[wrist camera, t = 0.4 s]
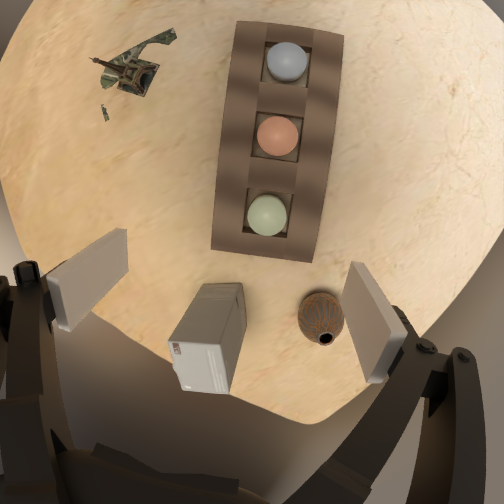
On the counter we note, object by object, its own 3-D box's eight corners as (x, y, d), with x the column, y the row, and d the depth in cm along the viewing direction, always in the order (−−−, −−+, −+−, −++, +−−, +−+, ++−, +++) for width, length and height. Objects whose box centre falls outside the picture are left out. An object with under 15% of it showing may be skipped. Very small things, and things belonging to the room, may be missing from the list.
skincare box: (247, 325, 46) (236, 397, 31) (205, 325, 47) (181, 394, 32) (242, 279, 43) (227, 346, 28) (196, 281, 44) (163, 344, 29)
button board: (239, 27, 30) (237, 20, 28) (339, 41, 29) (344, 35, 27) (214, 243, 41) (210, 249, 39) (309, 256, 41) (311, 263, 39)
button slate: (269, 47, 30) (269, 40, 27) (306, 52, 30) (309, 45, 27) (265, 79, 31) (264, 73, 29) (302, 84, 31) (305, 79, 28)
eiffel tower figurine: (175, 27, 30) (138, -10, 18) (194, 80, 34) (159, 54, 21) (93, 72, 33) (39, 58, 21) (107, 123, 36) (51, 122, 24)
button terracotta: (260, 116, 33) (259, 113, 30) (298, 121, 33) (300, 119, 30) (256, 152, 35) (254, 153, 32) (293, 157, 35) (295, 158, 32)
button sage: (251, 191, 37) (249, 195, 34) (288, 196, 37) (289, 200, 34) (247, 226, 39) (245, 233, 36) (282, 231, 38) (283, 238, 36)
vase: (339, 283, 42) (352, 315, 34) (338, 320, 45) (349, 354, 37) (295, 288, 43) (299, 320, 35) (297, 324, 46) (301, 360, 37)
